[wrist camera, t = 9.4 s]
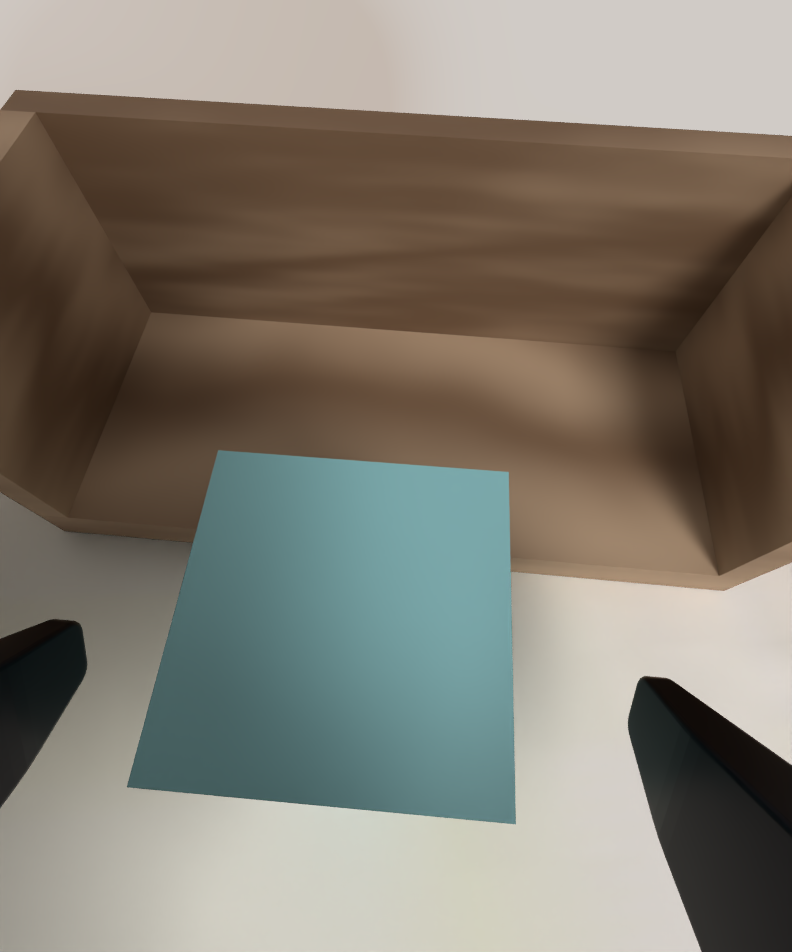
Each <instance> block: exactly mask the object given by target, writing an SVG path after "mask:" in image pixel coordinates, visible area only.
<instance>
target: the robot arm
mask: <svg viewBox="0 0 792 952" xmlns="http://www.w3.org/2000/svg"><path fill="white" fill-rule="evenodd" d="M86 670H87V658H86V651H85V644H84V637H83V630H82V627H81V625H80V624H79V623H78V622H76V621H69V620H59V619H52V620H48V621H45V622H43V623H40V624H38V625H35V626H32V627H30V628H27V629H25V630H22V631H19V632H17V633H14V634H11V635H9V636H6V637H4V638H1V639H0V808H1V806H2V805H3V804H4V802H5V801H6V800H7V798H8V797H9V795H10V794H11V793H12V791H13V790H14V789H15V787H16V786H17V784H18V783H19V782H20V780H21V779H22V777H23V776H24V774H25V773H26V772H27V770H28V769H29V767H30V765H31V764H32V762H33V761H34V759H35V758H36V756H37V755H38V753H39V751H40V750H41V748H42V746H43V745H44V743H45V742H46V740H47V738H48V737H49V735H50V733H51V732H52V730H53V728H54V727H55V725H56V723H57V722H58V720H59V718H60V717H61V715H62V713H63V712H64V710H65V709H66V707H67V705H68V704H69V702H70V700H71V699H72V697H73V695H74V694H75V692H76V690H77V689H78V687H79V685H80V684H81V682H82V680H83V678H84V676H85V674H86ZM628 730H629V735H630V739H631V743H632V746H633V750H634V754H635V757H636V761H637V764H638V768H639V772H640V775H641V779H642V782H643V786H644V790H645V793H646V797H647V800H648V804H649V808H650V811H651V815H652V819H653V822H654V825H655V828H656V832H657V835H658V838H659V841H660V844H661V846H662V849H663V852H664V855H665V858H666V860H667V863H668V865H669V868H670V871H671V873H672V876H673V878H674V881H675V884H676V886H677V889H678V891H679V894H680V897H681V899H682V902H683V904H684V907H685V910H686V912H687V915H688V917H689V920H690V923H691V925H692V928H693V930H694V933H695V936H696V938H697V941H698V944H699V946H700V949H701V951H702V952H792V765H791V764H789V763H788V762H786V761H785V760H784V759H782V758H781V757H779V756H778V755H777V754H775V753H774V752H772V751H771V750H770V749H768V748H767V747H765V746H764V745H762V744H761V743H760V742H758V741H757V740H755V739H754V738H753V737H751V736H750V735H748V734H747V733H746V732H744V731H743V730H741V729H740V728H738V727H737V726H736V725H734V724H733V723H731V722H730V721H729V720H727V719H726V718H724V717H723V716H722V715H720V714H719V713H717V712H716V711H714V710H713V709H712V708H710V707H709V706H707V705H706V704H705V703H703V702H702V701H700V700H699V699H698V698H696V697H695V696H693V695H692V694H690V693H689V692H688V691H686V690H685V689H683V688H682V687H681V686H679V685H678V684H676V683H675V682H673V681H672V680H670V679H668V678H661V677H650V676H644V677H642V678H640V680H639V681H638V683H637V687H636V690H635V694H634V698H633V702H632V705H631V709H630V713H629V717H628Z"/></svg>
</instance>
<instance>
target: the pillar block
mask: <svg viewBox="0 0 792 952" xmlns="http://www.w3.org/2000/svg"><path fill="white" fill-rule="evenodd" d="M127 787H130V788H141V789H151V790H162V791H172V792H183V793H193V794H204V795H214V796H225V797H235V798H246V799H256V800H267V801H277V802H288V803H298V804H309V805H319V806H330V807H340V808H351V809H361V810H372V811H382V812H393V813H403V814H414V815H424V816H435V817H445V818H456V819H466V820H477V821H487V822H498V823H508V824H516V814H515V764H514V714H513V664H512V614H511V563H510V513H509V472H502V471H489V470H475V469H462V468H449V467H435V466H422V465H409V464H395V463H382V462H368V461H355V460H342V459H328V458H315V457H302V456H288V455H275V454H262V453H248V452H235V451H222V450H218V453H217V457H216V460H215V464H214V468H213V471H212V475H211V479H210V482H209V486H208V490H207V493H206V497H205V501H204V505H203V508H202V512H201V516H200V519H199V523H198V527H197V530H196V534H195V538H194V541H193V545H192V549H191V552H190V556H189V560H188V564H187V567H186V571H185V575H184V578H183V582H182V586H181V589H180V593H179V597H178V600H177V604H176V608H175V611H174V615H173V619H172V623H171V626H170V630H169V634H168V637H167V641H166V645H165V648H164V652H163V656H162V659H161V663H160V667H159V670H158V674H157V678H156V682H155V685H154V689H153V693H152V696H151V700H150V704H149V707H148V711H147V715H146V718H145V722H144V726H143V730H142V733H141V737H140V741H139V744H138V748H137V752H136V755H135V759H134V763H133V766H132V770H131V774H130V777H129V781H128V785H127Z"/></svg>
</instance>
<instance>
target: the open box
mask: <svg viewBox="0 0 792 952" xmlns="http://www.w3.org/2000/svg"><path fill="white" fill-rule="evenodd" d="M218 450H222V451H235V452H248V453H262V454H275V455H288V456H302V457H315V458H328V459H342V460H355V461H368V462H382V463H395V464H409V465H422V466H435V467H449V468H462V469H475V470H489V471H502V472H509V513H510V563H511V571H512V572H523V573H534V574H545V575H556V576H567V577H578V578H589V579H600V580H611V581H622V582H633V583H644V584H655V585H666V586H677V587H688V588H699V589H710V590H721V591H725V590H727V589H729V588H732V587H734V586H736V585H739V584H741V583H744V582H746V581H748V580H751V579H753V578H756V577H758V576H760V575H763V574H765V573H768V572H770V571H772V570H775V569H777V568H779V567H782V566H784V565H787V564H789V563H791V562H792V136H783V135H765V134H750V133H749V134H748V133H733V132H715V131H699V130H682V129H665V128H648V127H632V126H615V125H596V124H581V123H564V122H547V121H529V120H513V119H496V118H480V117H462V116H446V115H429V114H412V113H394V112H378V111H361V110H345V109H328V108H327V109H326V108H311V107H294V106H277V105H260V104H243V103H227V102H210V101H192V100H175V99H159V98H158V99H157V98H142V97H125V96H109V95H90V94H75V93H58V92H41V91H24V90H15V92H14V93H13V94H12V95H11V97H10V98H9V99H8V101H7V102H6V103H5V105H4V106H3V107H2V108H1V110H0V492H1V493H3V494H4V495H6V496H7V497H9V498H11V499H12V500H14V501H16V502H17V503H19V504H21V505H22V506H24V507H26V508H27V509H29V510H31V511H32V512H34V513H36V514H37V515H39V516H41V517H42V518H44V519H45V520H47V521H49V522H50V523H52V524H54V525H55V526H57V527H59V528H60V529H62V530H64V531H71V532H82V533H93V534H104V535H115V536H126V537H137V538H148V539H159V540H170V541H181V542H192V543H193V541H194V538H195V534H196V530H197V527H198V523H199V519H200V516H201V512H202V508H203V505H204V501H205V497H206V493H207V490H208V486H209V482H210V479H211V475H212V471H213V468H214V464H215V460H216V457H217V453H218Z"/></svg>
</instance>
